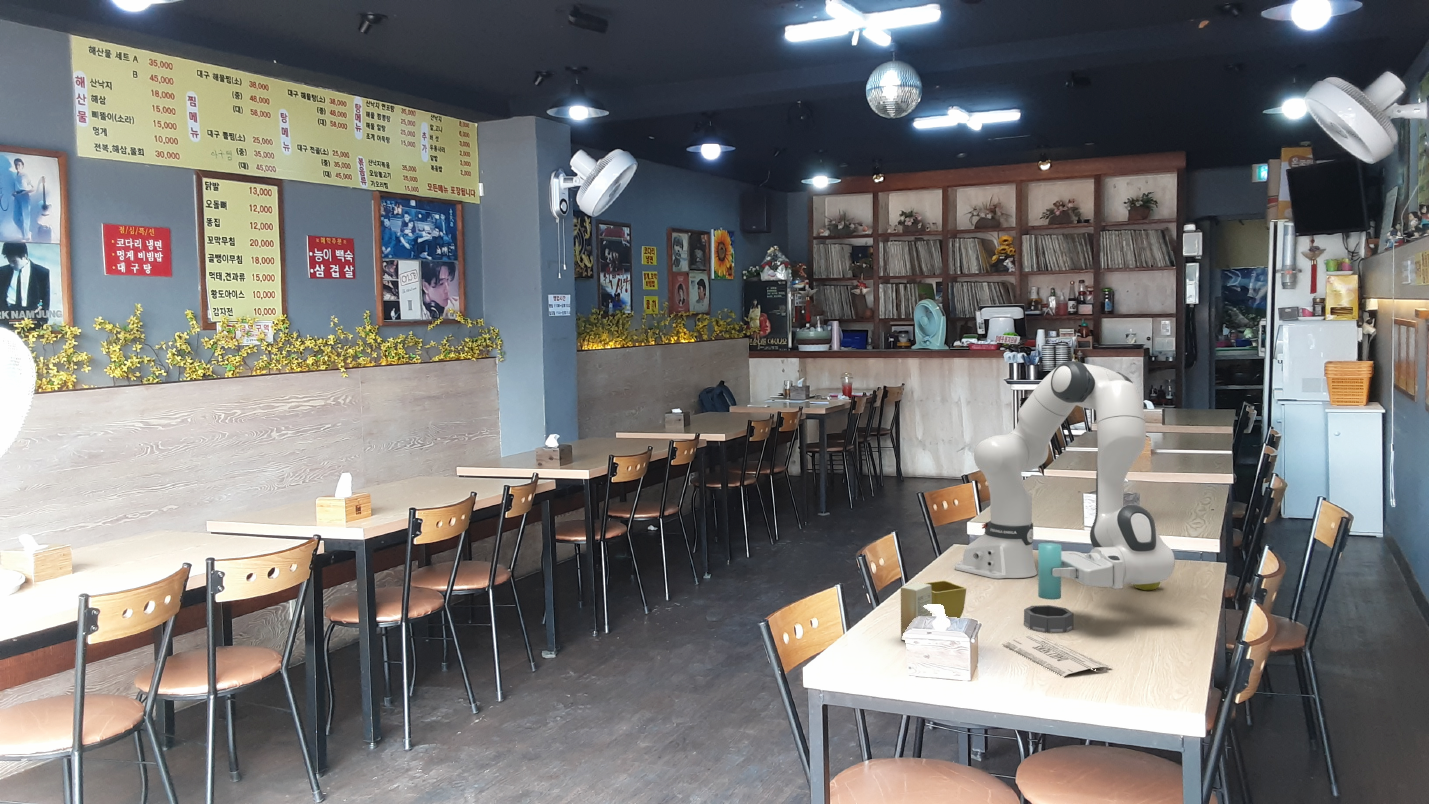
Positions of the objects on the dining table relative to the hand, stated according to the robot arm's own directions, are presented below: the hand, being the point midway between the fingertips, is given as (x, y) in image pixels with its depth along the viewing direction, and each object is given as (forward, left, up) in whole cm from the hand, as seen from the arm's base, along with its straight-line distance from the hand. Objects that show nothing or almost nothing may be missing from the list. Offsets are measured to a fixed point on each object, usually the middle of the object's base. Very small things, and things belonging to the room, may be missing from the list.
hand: (1046, 568), depth 238 cm
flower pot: (-20, -13, -14) cm, 27 cm away
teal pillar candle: (+1, +1, -6) cm, 7 cm away
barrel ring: (0, +1, -13) cm, 14 cm away
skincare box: (-18, -27, -14) cm, 35 cm away
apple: (+5, +49, -14) cm, 51 cm away
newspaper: (+11, -19, -14) cm, 26 cm away
